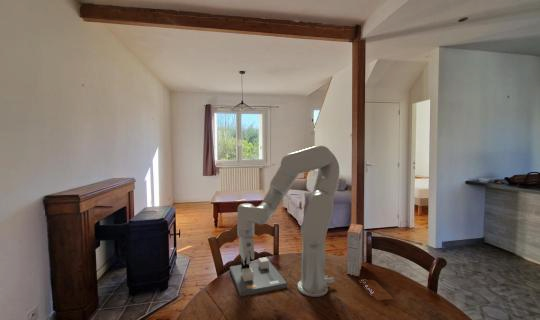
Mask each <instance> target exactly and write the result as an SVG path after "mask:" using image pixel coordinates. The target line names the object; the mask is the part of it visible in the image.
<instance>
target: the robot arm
mask: <svg viewBox="0 0 540 320" xmlns="http://www.w3.org/2000/svg"><path fill="white" fill-rule="evenodd" d="M314 170H317V176H316V180H315V184H314V187H313V190H312V193H311V195H310V197H309V199H308V203H307V207H306V210H305V213H304V217H303V221H302V224H301V227H300V235H301V238H302V240H301V241H302V242H301V243H302V244H301V277H300V278H301V279H299V281H298V282H297V290H298V291H299V292H300V293H301V294H303V295H305V296H308V297H314V298H315V297H316V298H318V297H319V298H320V297H323V296H325V295H326V294H328V291H329V288H328V287H329V286H328V285H329V283H335V278H334V277H333V276H331V277H329V276H328V275H325V269H326V267H325V265H326V261H325V260H326V238H327V237H326V236H327V232H328V229H329V226H330V222H331V220H332V218H333V217H332V216H333V213H334V207H335V206H334V205H335V202H334V197H335V194H336V189H337V186H338V182H339V178H340V166H339V161H338V159H337V157H336V156H335V154H334V153H333V152H332V151H331V149H329V148H328V147H327V146H326V145H325V146H324V145H321V144H319V145H316V146H312V147H308V148H305V149H302V150H301V149H300V150H299V151H294V152H290V153H287V154H284V156H283V157H282V158H281V161H280V166H279V168H278V169H277V171H276V172H275V174H274V176H273V177H272V178H271V180H270V182H269V189H268V192H266V195H265V196H264V198H263V200H262V201H261V203H260V204H258V206H255V205H254V204H252V203H248V202H247V203H240V204H239V205H238V206H237V228H236V229H237V230H236V231H237V233H236V234H237V237H238V253H239V256H240V257H241V265H242V266H241V272H242V269H246V268H249V264H250V263H251V260H255V244H254V243H255V242H254V236H255V224H258V225H264V224H266V223H268V222H269V221H270V219H271V218H272V217H273V216H274V214H275V213H276V211H277V209H278V208H279V206H280V204H281V203H282V201H283V199H284V198H285V196H286V195H287V194H288V192H289V191H290V189H291V188H292V187H293V184H294V183H295V181H296V180H297V178H298V177H299V174H302V173H307V172H311V171H314Z"/></svg>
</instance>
